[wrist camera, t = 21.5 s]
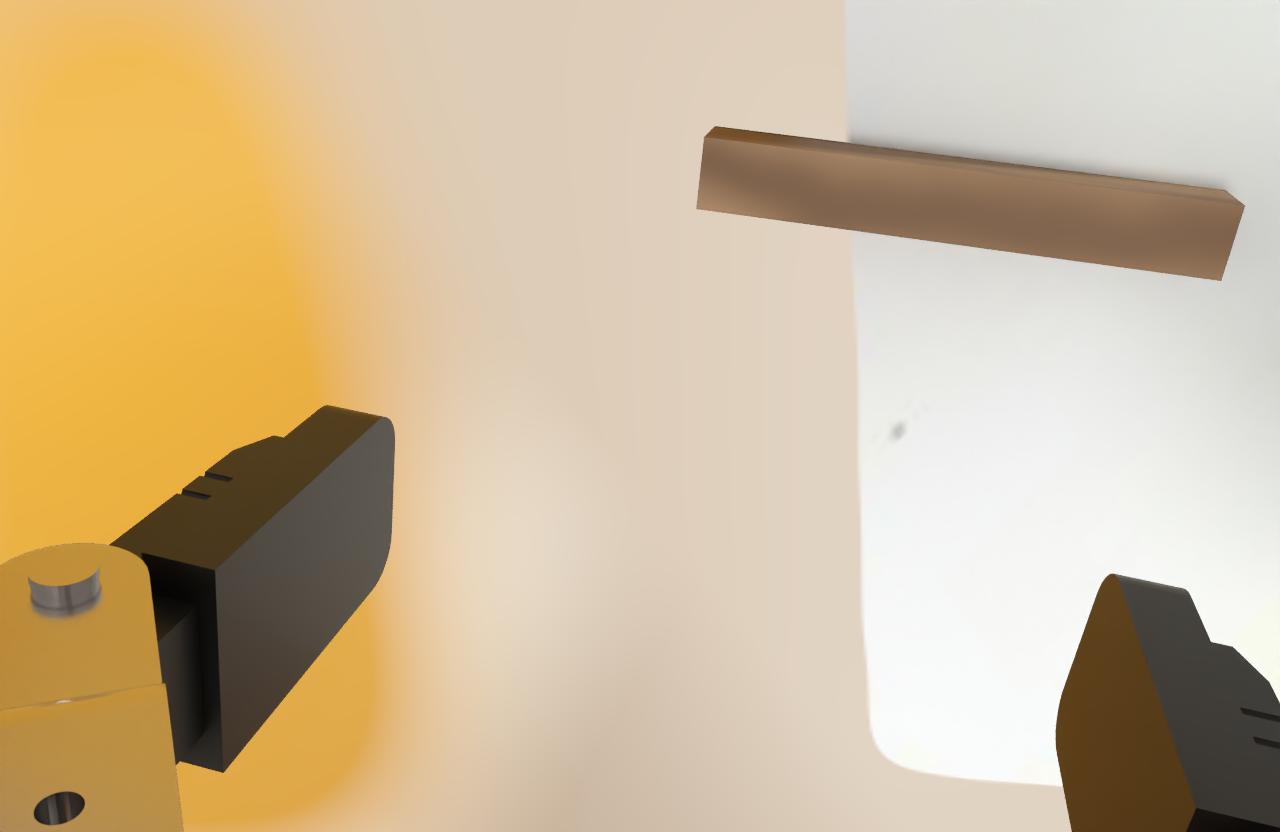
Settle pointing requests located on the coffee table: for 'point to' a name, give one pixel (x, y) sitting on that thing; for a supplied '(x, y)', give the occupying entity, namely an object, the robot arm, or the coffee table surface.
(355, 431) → the robot arm
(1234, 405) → the coffee table surface
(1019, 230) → the walnut bar
